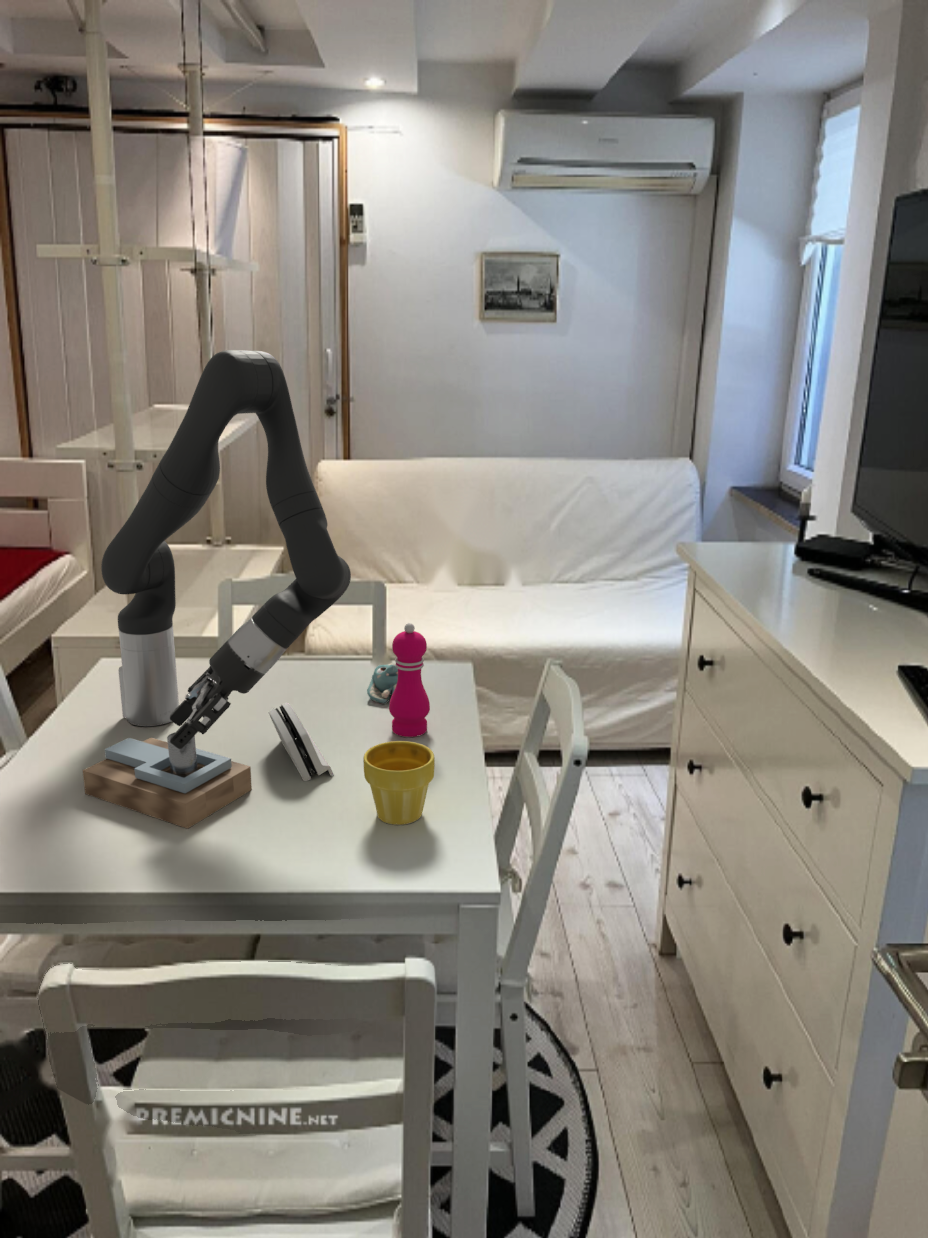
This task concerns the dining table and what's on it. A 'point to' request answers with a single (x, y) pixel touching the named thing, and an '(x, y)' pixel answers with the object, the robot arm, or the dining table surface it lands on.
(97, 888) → the dining table surface
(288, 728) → the white game console
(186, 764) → the pin
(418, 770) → the plant pot
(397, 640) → the pepper mill
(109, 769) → the wooden block
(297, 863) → the dining table surface
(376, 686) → the stuffed animal
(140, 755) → the link
